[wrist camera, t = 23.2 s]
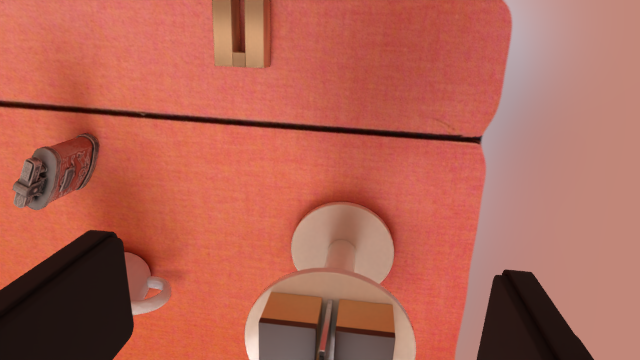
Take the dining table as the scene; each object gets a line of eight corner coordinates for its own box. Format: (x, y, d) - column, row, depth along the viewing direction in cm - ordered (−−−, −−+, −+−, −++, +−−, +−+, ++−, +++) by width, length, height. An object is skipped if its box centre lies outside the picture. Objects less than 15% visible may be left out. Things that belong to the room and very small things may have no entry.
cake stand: (339, 169, 49) (322, 237, 32) (427, 249, 51) (454, 353, 34) (261, 247, 54) (211, 342, 37) (344, 317, 56) (332, 438, 39)
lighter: (86, 192, 54) (26, 224, 45) (63, 180, 54) (-2, 209, 45) (103, 141, 52) (44, 164, 42) (79, 128, 52) (14, 148, 42)
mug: (105, 296, 60) (55, 344, 50) (94, 241, 57) (38, 281, 47) (189, 302, 58) (153, 352, 49) (181, 245, 55) (142, 287, 46)
